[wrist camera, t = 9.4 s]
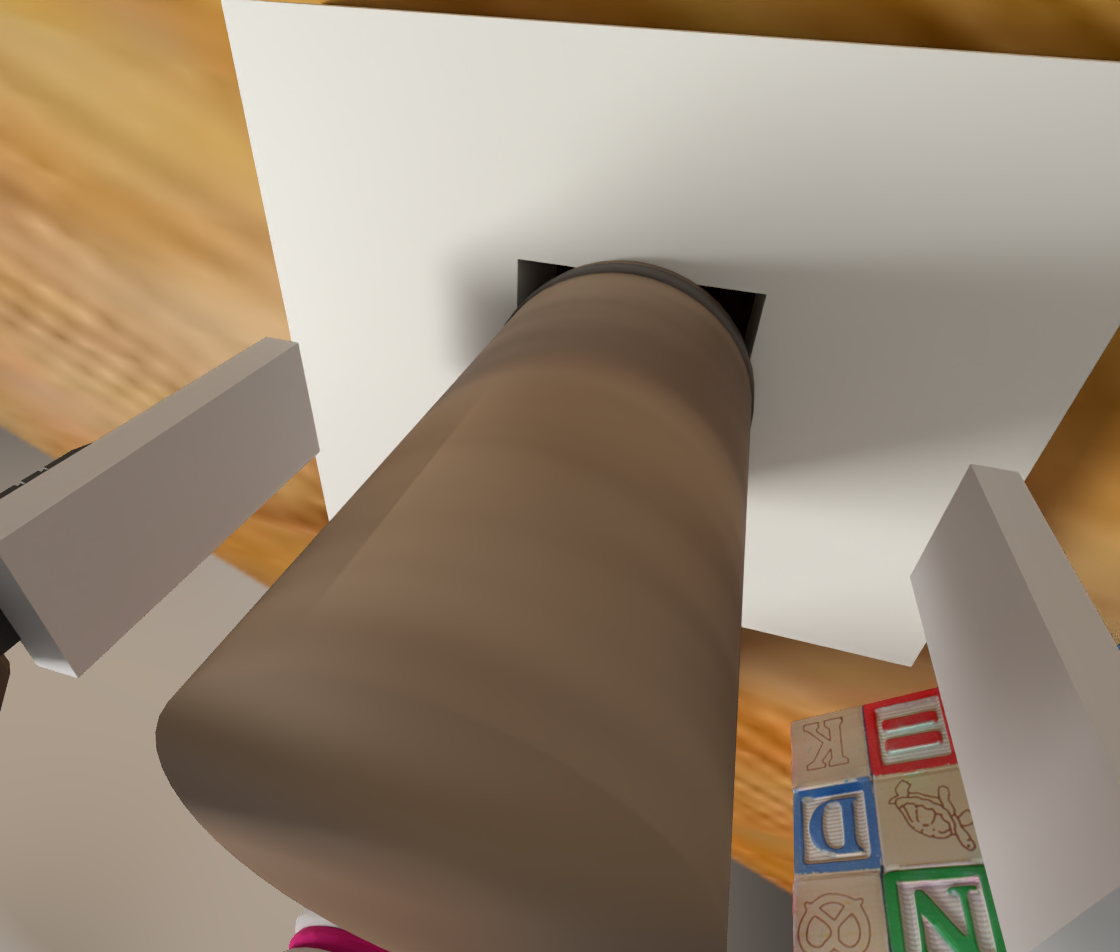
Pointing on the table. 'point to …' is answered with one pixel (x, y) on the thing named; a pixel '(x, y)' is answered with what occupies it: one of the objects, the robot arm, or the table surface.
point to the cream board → (705, 250)
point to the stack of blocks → (886, 834)
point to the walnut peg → (509, 650)
